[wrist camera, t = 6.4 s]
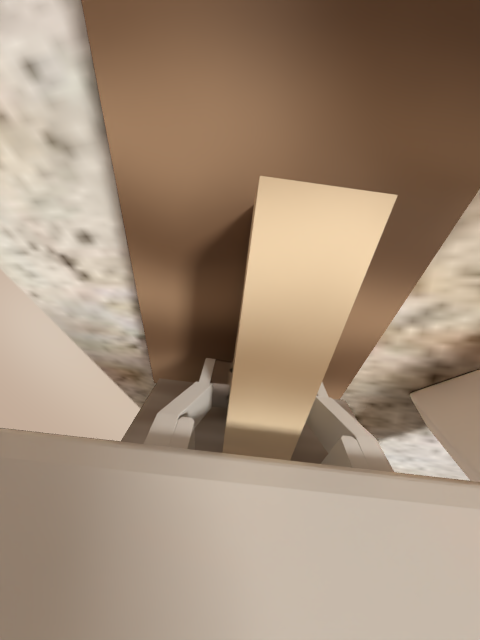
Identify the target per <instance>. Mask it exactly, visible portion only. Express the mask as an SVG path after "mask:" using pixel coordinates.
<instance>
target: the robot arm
mask: <svg viewBox="0 0 480 640" xmlns="http://www.w3.org/2000/svg"><path fill="white" fill-rule="evenodd" d="M232 370H233V361H226V360H219V359H211V358H206V360H205V362H204V366H203V369H202V373H201V376H200V379H199V382H195V383H193V384H192V385H191V386H190V387H189V388H187V389H186V390H185V391H184V392H182V393H181V394H180V395H179V396H178V397H176V398H175V399H174V400H173V401H171V402H170V403H169V404H168V405H167V406H165V407H164V408H163V409H162V410H161V411H159V412H158V413H157V415H156V417H155V420H154V422H153V424H152V426H151V428H150V431H149V433H148V435H147V437H146V439H145V441H144V444H138V443H130V442H121V441H112V440H103V439H94V438H85V437H75V436H67V435H58V434H49V433H40V432H32V431H23V430H14V429H5V428H0V640H480V482H476V481H467V480H458V479H449V478H440V477H432V476H423V475H414V474H405V473H396V472H394V471H393V469H392V467H391V465H390V464H389V462H388V460H387V458H386V456H385V454H384V452H383V451H382V449H381V447H380V445H379V443H378V441H377V440H376V438H375V437H374V436H373V435H372V434H370V433H369V432H368V431H367V430H366V429H365V428H364V427H363V426H362V425H361V424H360V423H358V422H357V421H356V420H355V419H354V418H353V417H352V416H351V415H350V414H349V413H348V412H347V411H345V410H344V409H343V408H342V407H341V406H340V405H339V404H338V403H337V402H336V401H335V400H333V399H332V398H330V397H328V394H327V392H326V390H325V387H324V385H323V383H321V385H320V388H319V390H318V393H317V395H316V398H315V400H314V403H313V405H312V408H311V410H310V413H309V415H308V417H307V420H306V423H307V424H308V426H309V427H310V429H311V430H312V431H313V433H314V434H315V436H316V437H317V438H318V440H319V441H320V442H321V444H322V445H323V447H324V448H325V449H326V451H327V452H328V455H327V456H326V457H325V458H324V460H323V461H322V462H321V464H316V463H307V462H299V461H290V460H281V459H272V458H263V457H254V456H245V455H236V454H227V453H219V452H210V451H201V450H195V431H194V428H195V427H196V426H197V425H198V423H199V422H200V421H201V420H202V419H203V417H204V416H205V415H206V414H207V413H208V411H209V410H210V409H211V407H219V408H228V403H229V395H230V388H231V380H232Z"/></svg>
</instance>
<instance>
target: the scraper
mask: <svg viewBox="0 0 480 640" xmlns="http://www.w3.org/2000/svg"><path fill="white" fill-rule="evenodd" d="M397 196H398V195H394V194H387V193H379V192H372V191H365V190H358V189H351V188H344V187H337V186H330V185H322V184H315V183H308V182H301V181H294V180H287V179H280V178H273V177H265V176H260V178H259V183H258V187H257V192H256V197H255V202H254V207H253V215H252V223H251V230H250V238H249V246H248V253H247V261H246V268H245V276H244V284H243V291H242V299H241V307H240V314H239V322H238V329H237V337H236V345H235V352H234V360H233V370H232V380H231V388H230V395H229V403H228V408H219V407H211V409H210V410H209V411H208V413H207V414H206V415H205V416H204V417H203V419H202V420H201V421H200V422H199V423H198V425H197V426H196V427H195V428H194V431H195V450H201V451H210V452H219V453H227V454H236V455H245V456H254V457H263V458H272V459H281V460H290V461H299V462H307V463H316V464H321V462H322V461H323V460H324V458H325V457H326V456H327V455H328V452H327V451H326V449H325V448H324V447H323V445H322V444H321V442H320V441H319V440H318V438H317V437H316V436H315V434H314V433H313V431H312V430H311V429H310V427H309V426H308V424H307V423H306V420H307V417H308V415H309V413H310V410H311V408H312V405H313V403H314V400H315V398H316V395H317V393H318V390H319V388H320V385H321V383H322V380H323V378H324V376H325V373H326V371H327V368H328V366H329V363H330V361H331V358H332V356H333V353H334V351H335V348H336V346H337V344H338V341H339V339H340V336H341V334H342V331H343V329H344V326H345V324H346V321H347V319H348V316H349V314H350V312H351V309H352V307H353V304H354V302H355V299H356V297H357V294H358V292H359V289H360V287H361V284H362V282H363V280H364V277H365V275H366V272H367V270H368V267H369V265H370V262H371V260H372V257H373V255H374V252H375V250H376V248H377V245H378V243H379V240H380V238H381V235H382V233H383V230H384V228H385V225H386V223H387V220H388V218H389V215H390V213H391V211H392V208H393V206H394V203H395V201H396V198H397ZM193 383H195V382H186V381H178V380H170V379H161V378H159V380H158V382H157V383H156V385H155V386H154V388H153V390H152V391H151V393H150V395H149V396H148V398H147V399H146V401H145V403H144V404H143V406H142V408H141V409H140V411H139V413H138V414H137V416H136V417H135V419H134V421H133V422H132V424H131V425H130V427H129V429H128V430H127V432H126V434H125V436H124V437H123V438H122V440H121V442H130V443H138V444H144V441H145V439H146V437H147V435H148V433H149V431H150V428H151V426H152V424H153V422H154V420H155V417H156V415H157V413H158V412H159V411H161V410H162V409H163V408H164V407H165V406H167V405H168V404H169V403H170V402H171V401H173V400H174V399H175V398H176V397H178V396H179V395H180V394H181V393H182V392H184V391H185V390H186V389H187V388H189V387H190V386H191V385H192V384H193ZM333 400H335V401H336V402H337V403H338V404H339V405H340V406H341V407H342V408H343V409H344V410H345V411H347V412H348V413H349V414H350V415H351V416H352V417H353V418H354V419H355V420H356V421H357V419H356V418H355V416H354V414H353V413H352V411H351V409H350V408H349V406H348V404H347V402H346V401H345V400H337V399H333ZM357 422H358V421H357Z"/></svg>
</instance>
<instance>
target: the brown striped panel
mask: <svg viewBox="0 0 480 640" xmlns="http://www.w3.org/2000/svg"><path fill="white" fill-rule="evenodd" d="M81 1H82V6H83V12H84V17H85V22H86V27H87V33H88V38H89V43H90V48H91V54H92V59H93V64H94V69H95V75H96V80H97V85H98V90H99V96H100V101H101V106H102V112H103V117H104V122H105V127H106V133H107V138H108V143H109V148H110V154H111V159H112V164H113V169H114V175H115V180H116V185H117V190H118V196H119V201H120V206H121V211H122V217H123V222H124V227H125V232H126V238H127V243H128V248H129V253H130V259H131V264H132V269H133V274H134V280H135V285H136V290H137V295H138V301H139V306H140V311H141V316H142V322H143V327H144V332H145V337H146V343H147V348H148V353H149V359H150V364H151V369H152V374H153V380H154V383H157V382H158V380H159V378H161V379H170V380H178V381H186V382H199V379H200V376H201V373H202V369H203V366H204V362H205V360H206V358H211V359H219V360H226V361H233V360H234V352H235V345H236V337H237V329H238V322H239V314H240V307H241V299H242V291H243V284H244V276H245V268H246V261H247V253H248V246H249V238H250V230H251V223H252V215H253V207H254V202H255V197H256V192H257V187H258V183H259V178H260V176H265V177H273V178H280V179H287V180H294V181H301V182H308V183H315V184H322V185H330V186H337V187H344V188H351V189H358V190H365V191H372V192H379V193H387V194H394V195H398V196H397V198H396V201H395V203H394V206H393V208H392V211H391V213H390V215H389V218H388V220H387V223H386V225H385V228H384V230H383V233H382V235H381V238H380V240H379V243H378V245H377V248H376V250H375V252H374V255H373V257H372V260H371V262H370V265H369V267H368V270H367V272H366V275H365V277H364V280H363V282H362V284H361V287H360V289H359V292H358V294H357V297H356V299H355V302H354V304H353V307H352V309H351V312H350V314H349V316H348V319H347V321H346V324H345V326H344V329H343V331H342V334H341V336H340V339H339V341H338V344H337V346H336V348H335V351H334V353H333V356H332V358H331V361H330V363H329V366H328V368H327V371H326V373H325V376H324V378H323V380H322V383H323V385H324V387H325V390H326V392H327V394H328V397H330V398H332V399H337V400H339V399H340V398H341V396H342V395H343V393H344V392H345V390H346V389H347V387H348V386H349V384H350V383H351V381H352V380H353V378H354V377H355V375H356V374H357V372H358V371H359V369H360V368H361V366H362V365H363V363H364V362H365V360H366V359H367V357H368V356H369V354H370V353H371V351H372V350H373V348H374V347H375V345H376V344H377V342H378V341H379V339H380V338H381V336H382V335H383V333H384V332H385V330H386V329H387V327H388V326H389V324H390V323H391V321H392V320H393V318H394V317H395V315H396V314H397V312H398V311H399V309H400V308H401V306H402V305H403V303H404V302H405V300H406V299H407V297H408V296H409V294H410V293H411V291H412V290H413V288H414V287H415V285H416V283H417V282H418V280H419V279H420V277H421V276H422V274H423V273H424V271H425V270H426V268H427V267H428V265H429V264H430V262H431V261H432V259H433V258H434V256H435V255H436V253H437V252H438V250H439V249H440V247H441V246H442V244H443V243H444V241H445V240H446V238H447V237H448V235H449V234H450V232H451V231H452V229H453V228H454V226H455V225H456V223H457V222H458V220H459V219H460V217H461V216H462V214H463V213H464V211H465V210H466V208H467V207H468V205H469V204H470V202H471V201H472V199H473V198H474V196H475V195H476V193H477V192H478V190H479V189H480V0H81Z"/></svg>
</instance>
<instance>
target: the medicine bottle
mask: <svg viewBox="0 0 480 640" xmlns="http://www.w3.org/2000/svg"><path fill="white" fill-rule="evenodd" d="M410 398H411V399H412V401H413V403H414V405H415V407H416V408H417V410H418V412H419V414H420V415H421V417H422V419H423V421H424V422H425V424H426V426H427V427H428V428H429V430H430V431H431V432H432V433H433V435H434V436H435V437H436V438H437V440H438V441H439V442H440V443H441V445H442V446H443V447H444V448H445V449H446V451H447V452H448V453H449V454H450V456H451V457H452V458H453V459H454V461H455V462H456V463H457V464H458V466H459V467H460V468H461V469H462V471H463V472H464V473H465V474H466V476H467V477H468V478H469V479H470V481H476V482H480V369H479V370H476V371H473V372H470V373H468V374H465V375H462V376H459V377H456V378H453V379H450V380H447V381H444V382H441V383H438V384H435V385H432V386H430V387H427V388H424V389H421V390H418V391H415V392H412V393H410Z"/></svg>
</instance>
